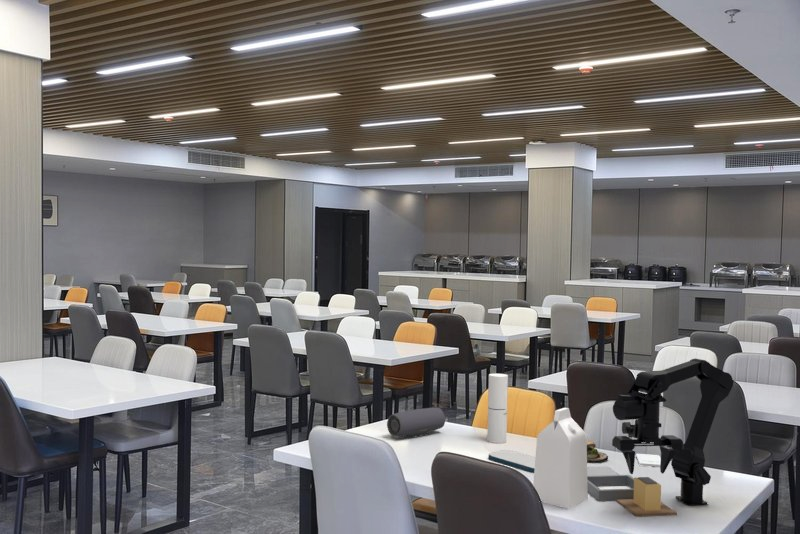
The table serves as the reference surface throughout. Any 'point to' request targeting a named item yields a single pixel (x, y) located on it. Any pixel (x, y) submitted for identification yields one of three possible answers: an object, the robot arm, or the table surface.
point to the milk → (561, 462)
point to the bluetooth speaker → (415, 422)
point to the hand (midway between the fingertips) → (646, 473)
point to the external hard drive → (514, 459)
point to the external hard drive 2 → (649, 460)
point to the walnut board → (641, 512)
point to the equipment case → (608, 484)
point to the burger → (594, 453)
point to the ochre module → (647, 493)
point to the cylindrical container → (497, 408)
